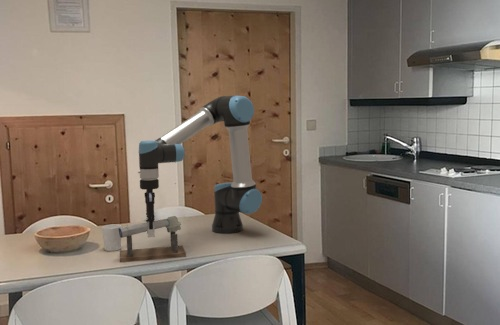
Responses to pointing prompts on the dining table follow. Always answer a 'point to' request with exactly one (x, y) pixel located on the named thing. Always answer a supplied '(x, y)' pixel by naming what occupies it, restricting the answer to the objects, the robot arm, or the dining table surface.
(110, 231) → the white cup
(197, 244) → the dining table surface
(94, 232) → the dining table surface
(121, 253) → the hook board
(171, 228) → the grey handled tool
